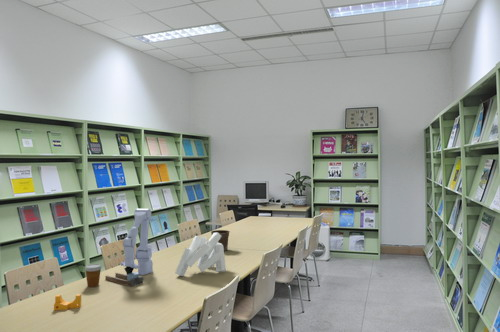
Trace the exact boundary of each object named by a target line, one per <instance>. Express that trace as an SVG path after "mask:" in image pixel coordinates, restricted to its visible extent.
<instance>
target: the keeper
mask: <svg viewBox="0 0 500 332" xmlns="http://www.w3.org/2000/svg"><path fill="white" fill-rule="evenodd" d="M126 275H127V281H130V279H133V278H137V277H140V276H139V275H140V274H138V273H136V272H134V271H132V273H130V274H127V273H126Z"/></svg>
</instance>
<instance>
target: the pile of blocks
mask: <svg viewBox="0 0 500 332" xmlns="http://www.w3.org/2000/svg"><path fill="white" fill-rule="evenodd" d="M220 238H221V235H220V234H219V233H218V232H216V233H213V234H211V236H210V238H209V239H208V238H207V237H206V236H205V235H203V236H202V237H201V236H198V235H194V237H193V240H192V242H191V243H190V246H189V248H188V247H185V248H184V251H183V252H182V253H183V254H182V255H181V257H180V260H179V263H178V265H177V268H176V269H175V273H174V274H175V275H178V276H181V277H184V276H185V275H186V272H187V270H188V267H189V268H191V267H193V265H195V264H196V263H197V265H196V267H197V268H198V270H199V271H200V272H201V273H203V272H205V271H206V270H207V269H208V268H214V267H215V271H216V273H222V272H226V271H227V268H226V267H227V266H226V259H225V251H224V248H223V245H222V244H221V243H218V241H219V240H220ZM197 261H198V262H197Z"/></svg>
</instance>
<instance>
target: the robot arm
mask: <svg viewBox="0 0 500 332" xmlns="http://www.w3.org/2000/svg"><path fill="white" fill-rule="evenodd" d="M133 215H134V221H133V225H132V226H131V228H129V230H128V233H127V236H126V237H124V239H123V241H122V245H123V246H122V247H123V250H124V261H120V266H122V267H123V268H124V271H125V273H126V275H127V274H130V273H133V272H134V269H135V270H137V271H136V272H135V273H138V274H139V275H140V276H144V275H148V274H152V273H154V271H153V269H154V268H153V265H154V263H153V260H152V248H151V247H150V246H149V245H148V243H149V228H150V225H149V223H150V222H151V221H152V211H151V209H150V208H135V210H134V212H133ZM140 225H141V226H140ZM139 228H140V237H139V239H140V241H139V246H138V247H136V245H137V237H138V234H139ZM135 247H136V249H135ZM135 259H136V261H137V264H136V263H135Z"/></svg>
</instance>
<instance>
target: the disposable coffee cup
mask: <svg viewBox="0 0 500 332" xmlns="http://www.w3.org/2000/svg"><path fill="white" fill-rule="evenodd" d="M84 270H85V276H86V283H87V284H86V285H87V287H88V288H96V287H98V286H99V285H100V278H101V270H102V265H101V264H99V263H94V264H93V263H92V264H87V265H86V266H85V268H84Z"/></svg>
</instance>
